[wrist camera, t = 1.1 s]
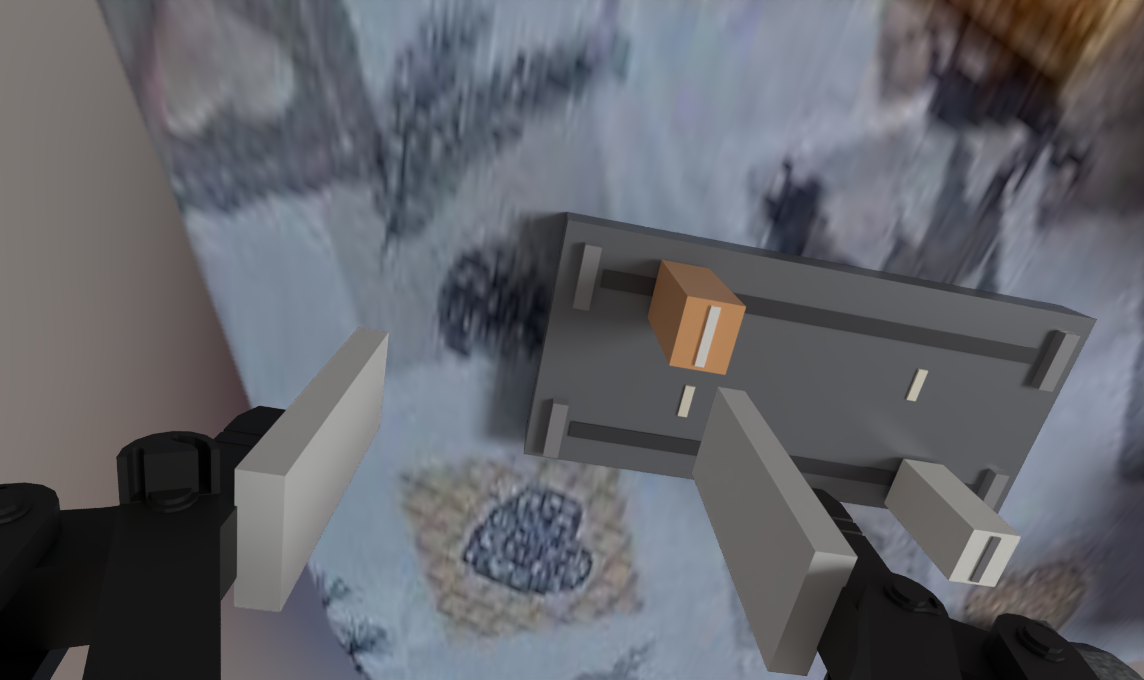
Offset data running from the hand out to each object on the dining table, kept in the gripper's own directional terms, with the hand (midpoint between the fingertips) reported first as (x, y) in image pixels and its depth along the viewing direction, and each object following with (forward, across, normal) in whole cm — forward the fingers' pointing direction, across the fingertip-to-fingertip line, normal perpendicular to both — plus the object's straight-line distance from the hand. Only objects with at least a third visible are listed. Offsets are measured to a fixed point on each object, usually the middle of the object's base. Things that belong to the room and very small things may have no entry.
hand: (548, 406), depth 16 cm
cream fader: (+15, +22, -9) cm, 28 cm away
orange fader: (+15, +6, 0) cm, 16 cm away
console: (+17, +14, -4) cm, 23 cm away
